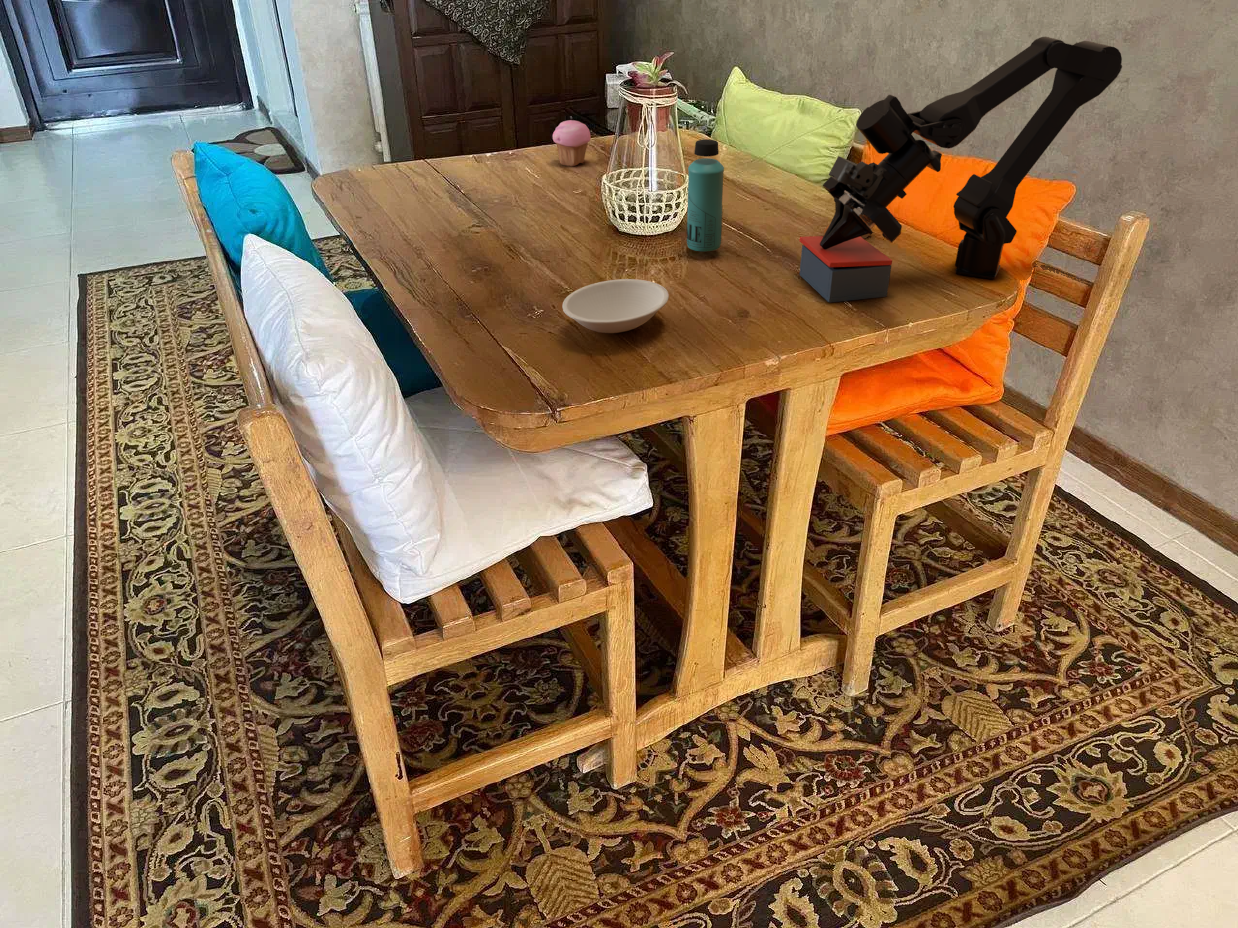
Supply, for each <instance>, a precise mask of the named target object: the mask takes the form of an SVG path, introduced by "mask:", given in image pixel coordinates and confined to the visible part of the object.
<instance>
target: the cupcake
mask: <svg viewBox="0 0 1238 928" xmlns="http://www.w3.org/2000/svg"><path fill="white" fill-rule="evenodd" d="M591 139H592V138H591V132H590V129H589V127H588V126H587V125H586V124H585V123H583V122H581V121H579V120H574V119H569V120H564V121H562V122H560V123H559V124H558V126H556V127H555V130H554V131H553V133H552V140H553V142H554V144H556V148H557V153H558V154H557V155H558V161H559V163H560V164H561V165H563V166H568V167H570V166H571V167H575V166H577V165H579V164H583V163H584V162H585V157H586V153H587V147H588V145H589V142H591Z"/></svg>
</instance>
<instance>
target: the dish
mask: <svg viewBox="0 0 1238 928" xmlns="http://www.w3.org/2000/svg"><path fill="white" fill-rule="evenodd" d="M669 298H670V295H669V291H668V290H667V289H666V288H665V287H664V286H663V285H660V284H659V283H656V282H654V281H650V280H645V279H638V278H637V279H635V278H619V279H610V280H603V281H599V282H595V283H591V284H588V285H585V286H583V287H580V288H578V289H576V290H574V291H573V292H571V293H570V294H569V295H567V296H566V297H565V298H564V300H563V302H562V311H563V313H564V314H565V315H566V316H567V317H568V318H570V319H573V320H574V321H575V322H576V323H577V324H579V325H580V326H582V327H584V328H586V329H588V330H591V331H593V332H597V333H603V334H618V333H624V332H628V331H631V330H634V329H636V328H638V327H641V326H642V325H644V324H645V323H647V322H648V321H649V320H650V319H652V318H653V317H655V315H656V314H657V313H658V311H659V310H661V309H662V308H664V307H665V305H666V304H667V303H668V301H669Z"/></svg>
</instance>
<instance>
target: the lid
mask: <svg viewBox="0 0 1238 928" xmlns="http://www.w3.org/2000/svg"><path fill="white" fill-rule="evenodd" d="M823 236H824V235H814V236H813V235H811V236H809V235H807V236H799V240H798V241H799V243H801V244H802V245H804V246H806V247H807V248H808V249H809V250H810V251H811V252H812V253H814V254H815V255H816V256H817V257H818V258H819V259H821V260H822V261H823V262H824V263H825V264H826V265H827V266H829V267H853V266H879V265H891V266H892V264H893V259H891V258H889V256H887V255H886V254H885V253H883V252H882V251H880V250H879V249H878V248H876V247H875V246H874V245H873V244H871V243H870V242H868V241H867V240H866V239H865V238H862V237H857V238H854V239H851V240H848V241H846V242H843V243H841V244H838V245H836V246H833V247H830V248H828V249H823V248H822V247H821V246H820V242H821V240H822V238H823Z"/></svg>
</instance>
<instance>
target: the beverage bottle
mask: <svg viewBox="0 0 1238 928" xmlns="http://www.w3.org/2000/svg"><path fill="white" fill-rule="evenodd" d="M693 152H694V155H695V156H698V157H703V158H698V159H695V160H693V162H691V163H690V164H689V165H688V168H687V171H688V176H687V177H688V179H687V188H686V192H687V193H686V194H687V195H686V196H687V197H686V200H687V213H686V217H687V218H686V229H685V230H686V232H685V234H686V242H685V243H686V245H687V248H688V249H690V250H692V251H696V252H712V251H717V250H719V249H720V248H721V244H722V242H723V239H722V237H723V233H722V232H723V210H724V208H723V207H724V206H723V205H724V204H723V195H724V192H723V191H724V173H725V172H724V171H725V167H724V165H723V164H722V163H721V162H720V161H719V160H717V159H715V158H711V157H715V156H718V155H719V152H720V151H719V142H718V141H717V140H715V139H708V138H705V139H699V140H696V141H695V143H694V151H693ZM704 157H705V158H704ZM707 157H710V158H707Z"/></svg>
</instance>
